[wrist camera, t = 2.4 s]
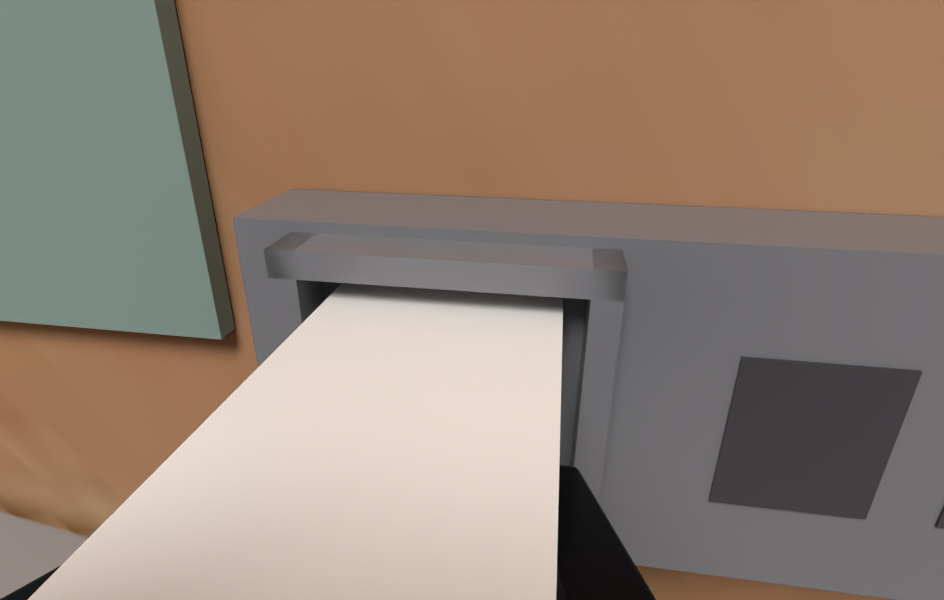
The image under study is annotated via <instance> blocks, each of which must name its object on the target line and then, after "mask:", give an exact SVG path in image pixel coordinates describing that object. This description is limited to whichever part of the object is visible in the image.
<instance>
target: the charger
mask: <svg viewBox="0 0 944 600" xmlns="http://www.w3.org/2000/svg"><path fill="white" fill-rule="evenodd" d="M562 335H563V298H559V297H544V296H529V295H514V294H499V293H484V292H470V291H455V290H440V289H425V288H410V287H395V286H380V285H366V284H351V283H342V284H341V285H340V286H339V287H338V288H337V289H336V290H335V291H334V292H333V293H332V294H331V295H330V296H329V297H328V298H327V299H326V300H325V301H324V302H323V303H322V304H321V305H320V306H319V307H318V308H317V309H316V310H315V311H314V312H313V313H312V314H311V315H310V316H309V317H308V318H307V319H306V320H305V321H304V322H303V323H302V324H301V325H300V326H299V327H298V328H297V329H296V330H295V331H294V332H293V333H292V334H291V335H290V336H289V337H288V338H287V339H286V340H285V341H284V342H283V343H282V344H281V345H280V346H279V347H278V348H277V349H276V350H275V351H274V352H273V353H272V354H271V355H270V356H269V357H268V358H267V359H266V360H265V361H264V362H263V363H262V364H261V365H260V366H259V367H258V368H257V369H256V370H255V371H254V372H253V373H252V374H251V375H250V376H249V377H248V378H247V379H246V380H245V381H244V382H243V383H242V384H241V385H240V386H239V387H238V388H237V389H236V390H235V391H234V392H233V393H232V394H231V395H230V396H229V397H228V398H227V399H226V400H225V401H224V402H223V403H222V404H221V405H220V406H219V407H218V408H217V409H216V410H215V411H214V412H213V413H212V414H211V415H210V416H209V417H208V418H207V420H206V421H205V422H204V423H203V424H202V425H201V426H200V427H199V428H198V429H197V430H196V431H195V432H194V433H193V434H192V435H191V436H190V437H189V438H188V439H187V440H186V441H185V442H184V443H183V444H182V445H181V446H180V447H179V448H178V449H177V450H176V451H175V452H174V453H173V454H172V455H171V456H170V457H169V458H168V459H167V460H166V461H165V462H164V463H163V464H162V465H161V466H160V467H159V468H158V469H157V470H156V471H155V472H154V473H153V474H152V475H151V476H150V477H149V478H148V479H147V480H146V481H145V482H144V483H143V484H142V485H141V486H140V487H139V488H138V489H137V490H136V491H135V492H134V493H133V494H132V495H131V496H130V497H129V498H128V499H127V500H126V501H125V502H124V503H123V504H122V505H121V506H120V507H119V508H118V509H117V510H116V511H115V512H114V513H113V514H112V515H111V516H110V517H109V518H108V519H107V520H106V521H105V522H104V523H103V524H102V525H101V526H100V527H99V528H98V529H97V530H96V531H95V532H94V533H93V534H92V535H91V536H90V537H89V538H88V539H87V540H86V541H85V542H84V543H83V544H82V545H81V546H80V547H79V548H78V549H77V550H76V551H75V552H74V553H73V554H72V555H71V556H70V557H69V558H68V559H67V560H66V561H65V563H63V564H62V565H61V566H60V567H59V568H58V569H57V570H56V571H55V572H54V573H53V574H52V575H51V576H50V577H49V578H48V579H47V580H46V581H45V582H44V583H43V584H42V585H41V586H40V587H39V589H38V590H37V591H36V592H35V593H34V594H33V595H32V596H31V597H30V598H29V599H28V600H556V588H557V546H558V504H559V461H560V419H561V377H562Z"/></svg>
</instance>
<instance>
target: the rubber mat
mask: <svg viewBox="0 0 944 600" xmlns="http://www.w3.org/2000/svg"><path fill="white" fill-rule="evenodd" d="M0 321H9V322H21V323H32V324H44V325H56V326H68V327H79V328H91V329H103V330H115V331H126V332H138V333H150V334H161V335H173V336H185V337H197V338H208V339H220V340H222V339H223V338H224V337H225V336H227V335H228V334H229V333H230V332H232V331H233V330H234V329H235V325H234V320H233V315H232V309H231V304H230V299H229V293H228V288H227V282H226V277H225V272H224V266H223V261H222V256H221V250H220V245H219V239H218V234H217V229H216V223H215V218H214V213H213V207H212V202H211V196H210V191H209V186H208V180H207V175H206V170H205V164H204V159H203V154H202V148H201V143H200V137H199V132H198V127H197V121H196V116H195V111H194V105H193V100H192V94H191V89H190V84H189V78H188V73H187V68H186V62H185V57H184V51H183V46H182V41H181V35H180V30H179V25H178V19H177V14H176V8H175V3H174V0H0Z"/></svg>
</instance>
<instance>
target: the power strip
mask: <svg viewBox="0 0 944 600" xmlns="http://www.w3.org/2000/svg"><path fill="white" fill-rule="evenodd" d="M233 224H234V229H235V235H236V241H237V247H238V252H239V258H240V264H241V270H242V276H243V281H244V287H245V293H246V299H247V305H248V310H249V316H250V322H251V328H252V334H253V339H254V345H255V351H256V357H257V362H258V367H259V366H260V365H261V364H262V363H263V362H264V361H265V360H266V359H267V358H268V357H269V356H270V355H271V354H272V353H273V352H274V351H275V350H276V349H277V348H278V347H279V346H280V345H281V344H282V343H283V342H284V341H285V340H286V339H287V338H288V337H289V336H290V335H291V334H292V333H293V332H294V331H295V330H296V329H297V328H298V327H299V326H300V325H301V324H302V323H303V322H304V321H305V320H306V319H307V318H308V317H309V316H310V315H311V314H312V313H313V312H314V311H315V310H316V309H317V308H318V307H319V306H320V305H321V304H322V303H323V302H324V301H325V300H326V299H327V298H328V297H329V296H330V295H331V294H332V293H333V292H334V291H335V290H336V289H337V288H338V287H339V286H340V285H341V284H342V283H351V284H366V285H380V286H395V287H410V288H425V289H440V290H455V291H470V292H484V293H499V294H514V295H529V296H544V297H559V298H563V335H562V377H561V419H560V461H559V465H565V466H574V467H576V468H578V470H579V471H580V473H581V474H582V476H583V478H584V479H585V481H586V483H587V484H588V486H589V488H590V489H591V491H592V493H593V495H594V496H595V498H596V500H597V501H598V503H599V505H600V506H601V508H602V510H603V511H604V513H605V515H606V516H607V518H608V520H609V521H610V523H611V525H612V527H613V528H614V530H615V532H616V533H617V535H618V537H619V538H620V540H621V542H622V543H623V545H624V547H625V548H626V550H627V552H628V554H629V555H630V557H631V559H632V560H633V562H634V564H635V565H637V566H645V567H652V568H660V569H667V570H675V571H683V572H690V573H698V574H705V575H713V576H720V577H728V578H735V579H743V580H751V581H758V582H766V583H773V584H781V585H788V586H796V587H803V588H811V589H819V590H826V591H834V592H841V593H849V594H856V595H864V596H871V597H879V598H887V599H894V600H944V217H931V216H907V215H884V214H861V213H837V212H814V211H791V210H767V209H744V208H721V207H697V206H674V205H651V204H627V203H604V202H580V201H557V200H534V199H510V198H487V197H464V196H440V195H417V194H394V193H370V192H347V191H324V190H300V189H291V190H289V191H287V192H285V193H283V194H281V195H279V196H277V197H275V198H273V199H271V200H269V201H267V202H265V203H263V204H261V205H258V206H256V207H254V208H252V209H250V210H248V211H246V212H244V213H242V214H240V215H238V216H236V217H234V218H233Z"/></svg>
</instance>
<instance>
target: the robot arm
mask: <svg viewBox="0 0 944 600" xmlns="http://www.w3.org/2000/svg"><path fill="white" fill-rule="evenodd" d="M59 567H60V566H59ZM59 567H57V568H55V569H54V570H52V571H50V572H49V573H47V574H45V575H43V576H41V577H40V578H38V579H36V580H34V581H32V582H30V583H29V584H27V585H25V586H23V587H22V588H20V589H18V590H16V591H14V592H12V593H11V594H9V595H7V596H5V597H3V598H1V599H0V600H28V599H29V598H30V597H31V596H32V595H33V594H34V593H35V592H36V591H37V590H38V589H39V587H40V586H41V585H42V584H43V583H44V582H45V581H46V580H47V579H48V578H49V577H50V576H51V575H52V574H53V573H54V572H55V571H56V570H57V569H58V568H59ZM556 600H656V599H655V597H654V596H653V594H652V592H651V591H650V589H649V587H648V586H647V584H646V582H645V581H644V579H643V577H642V575H641V574H640V572H639V570H638V569H637V567H636V565H635V564H634V562H633V560H632V559H631V557H630V555H629V554H628V552H627V550H626V548H625V547H624V545H623V543H622V542H621V540H620V538H619V537H618V535H617V533H616V532H615V530H614V528H613V527H612V525H611V523H610V521H609V520H608V518H607V516H606V515H605V513H604V511H603V510H602V508H601V506H600V505H599V503H598V501H597V500H596V498H595V496H594V495H593V493H592V491H591V489H590V488H589V486H588V484H587V483H586V481H585V479H584V478H583V476H582V474H581V473H580V471H579V470H578V468H576V467H574V466H565V465H559V504H558V546H557V588H556Z"/></svg>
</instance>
